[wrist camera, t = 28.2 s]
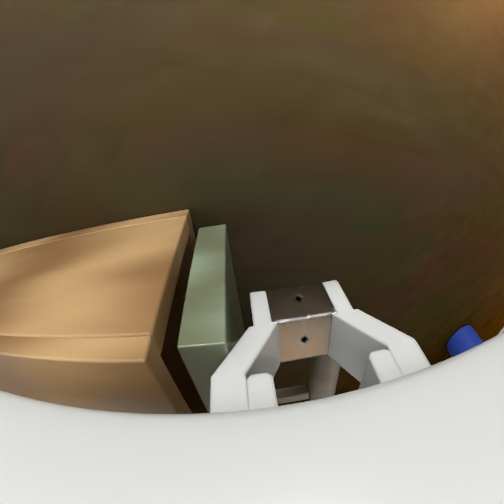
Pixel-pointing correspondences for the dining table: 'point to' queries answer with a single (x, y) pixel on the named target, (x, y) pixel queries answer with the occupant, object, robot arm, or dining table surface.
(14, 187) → the dining table surface
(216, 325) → the drawer
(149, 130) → the dining table surface
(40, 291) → the cabinet
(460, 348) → the disc
